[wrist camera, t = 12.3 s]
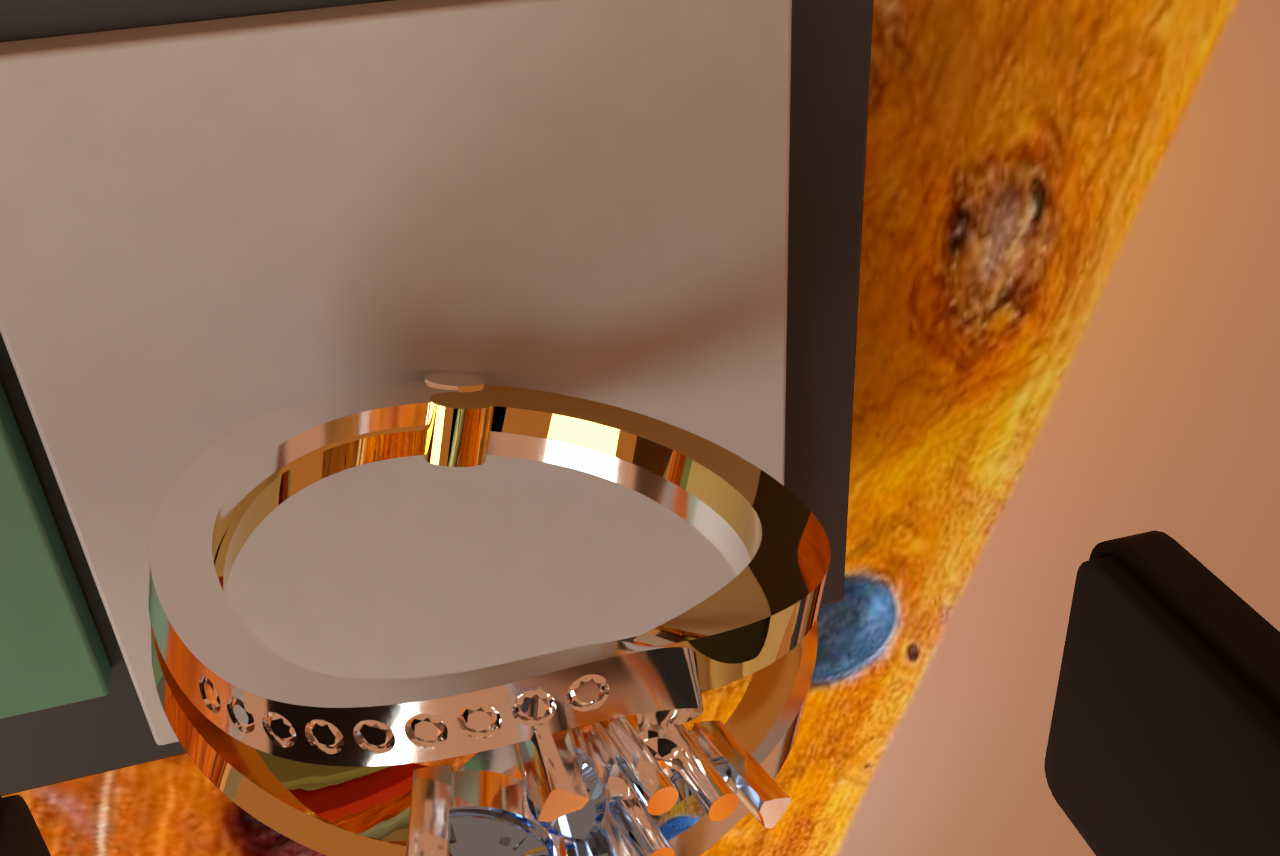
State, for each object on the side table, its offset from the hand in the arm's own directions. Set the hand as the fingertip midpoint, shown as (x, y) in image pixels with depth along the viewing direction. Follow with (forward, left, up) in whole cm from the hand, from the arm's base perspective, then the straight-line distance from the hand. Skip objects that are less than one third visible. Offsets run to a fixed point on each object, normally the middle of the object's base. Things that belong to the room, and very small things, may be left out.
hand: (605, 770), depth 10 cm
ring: (0, 0, -7) cm, 7 cm away
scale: (+2, 0, -11) cm, 11 cm away
